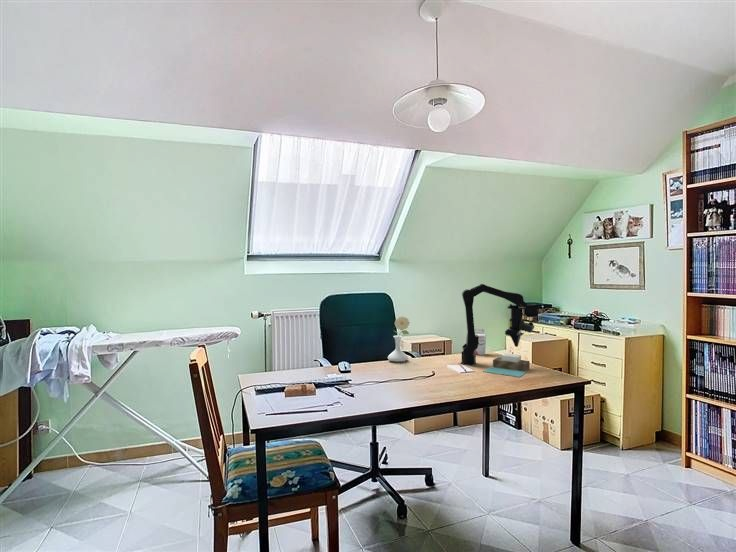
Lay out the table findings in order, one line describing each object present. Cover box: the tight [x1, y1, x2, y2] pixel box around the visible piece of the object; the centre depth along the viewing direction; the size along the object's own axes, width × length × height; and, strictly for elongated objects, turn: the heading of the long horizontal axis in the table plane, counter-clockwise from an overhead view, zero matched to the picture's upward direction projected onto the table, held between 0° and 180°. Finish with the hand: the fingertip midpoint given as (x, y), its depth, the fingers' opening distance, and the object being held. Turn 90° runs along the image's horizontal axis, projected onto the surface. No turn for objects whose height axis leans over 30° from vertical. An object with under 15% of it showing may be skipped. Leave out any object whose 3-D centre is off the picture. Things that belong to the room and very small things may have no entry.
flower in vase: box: [387, 316, 410, 363], centre depth 237 cm, size 13×11×25 cm
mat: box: [482, 366, 527, 378], centre depth 212 cm, size 18×11×1 cm, turn 53°
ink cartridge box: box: [474, 328, 487, 356], centre depth 253 cm, size 9×5×15 cm, turn 84°
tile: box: [501, 353, 522, 362], centre depth 220 cm, size 8×6×2 cm
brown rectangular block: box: [492, 356, 530, 372], centre depth 220 cm, size 16×8×4 cm, turn 53°
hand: (516, 346), depth 226 cm, fingers closed
